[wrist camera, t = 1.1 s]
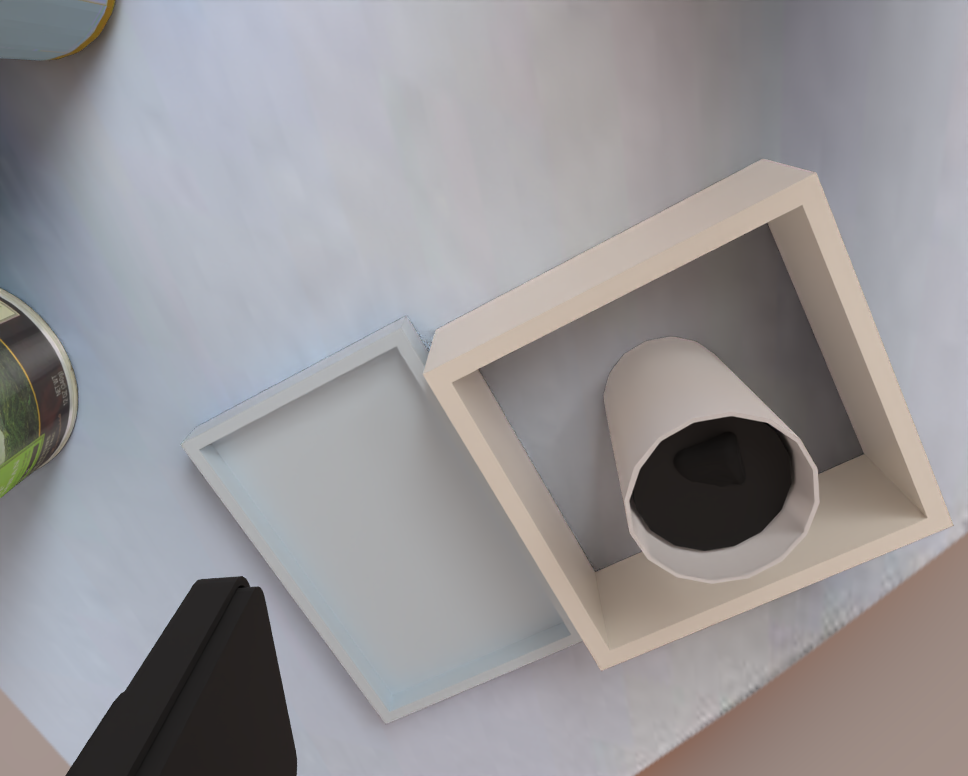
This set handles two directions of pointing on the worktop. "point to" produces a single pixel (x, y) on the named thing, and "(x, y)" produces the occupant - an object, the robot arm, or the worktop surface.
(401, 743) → the worktop surface
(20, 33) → the bottle
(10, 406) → the coffee can
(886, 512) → the open beige storage bin
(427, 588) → the tray
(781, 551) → the white cup
